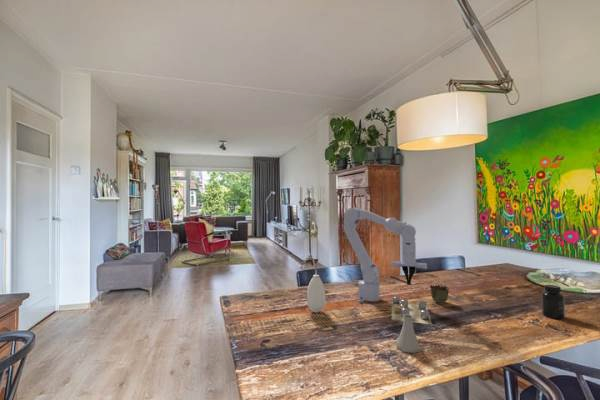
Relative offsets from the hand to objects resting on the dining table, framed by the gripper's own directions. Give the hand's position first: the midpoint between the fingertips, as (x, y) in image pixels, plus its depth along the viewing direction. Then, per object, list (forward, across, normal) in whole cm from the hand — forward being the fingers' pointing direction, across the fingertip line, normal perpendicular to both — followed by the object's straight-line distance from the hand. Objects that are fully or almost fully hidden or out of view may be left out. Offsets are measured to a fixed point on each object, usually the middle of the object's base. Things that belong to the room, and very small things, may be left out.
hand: (408, 283), depth 124 cm
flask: (+10, -2, -37) cm, 38 cm away
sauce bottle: (+10, -37, -18) cm, 42 cm away
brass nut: (+9, -4, -10) cm, 14 cm away
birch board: (+10, 0, -10) cm, 14 cm away
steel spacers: (+9, 0, -8) cm, 12 cm away
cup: (+10, +13, +6) cm, 18 cm away
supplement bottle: (+10, +54, +6) cm, 55 cm away
